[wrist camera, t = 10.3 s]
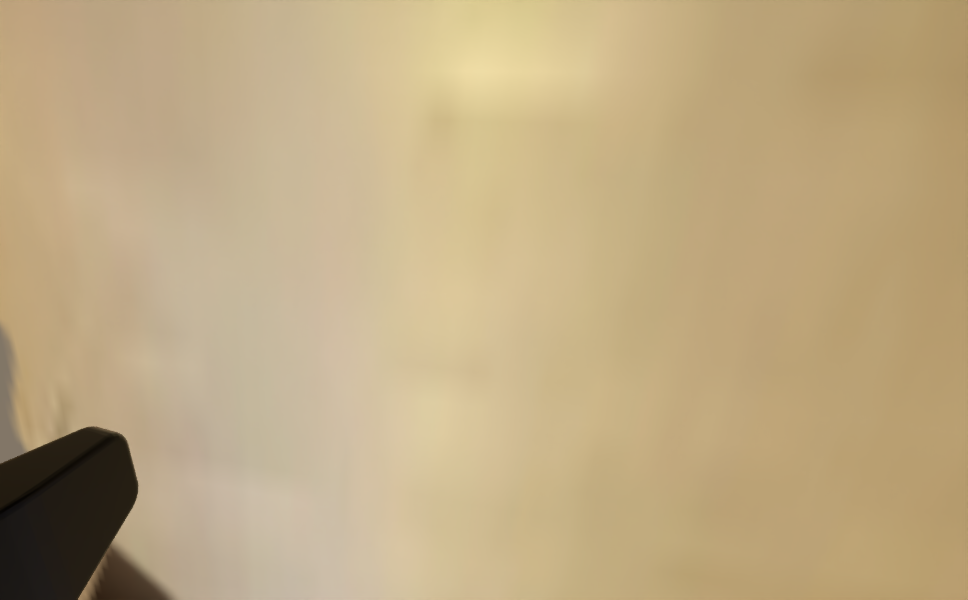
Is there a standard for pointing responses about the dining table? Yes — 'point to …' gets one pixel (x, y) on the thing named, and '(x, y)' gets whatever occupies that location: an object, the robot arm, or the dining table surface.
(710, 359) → the dining table surface
